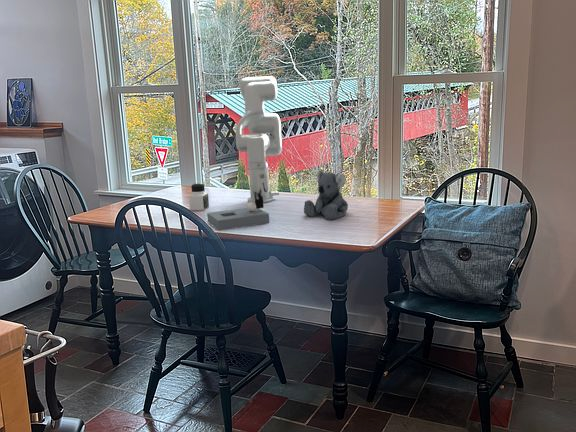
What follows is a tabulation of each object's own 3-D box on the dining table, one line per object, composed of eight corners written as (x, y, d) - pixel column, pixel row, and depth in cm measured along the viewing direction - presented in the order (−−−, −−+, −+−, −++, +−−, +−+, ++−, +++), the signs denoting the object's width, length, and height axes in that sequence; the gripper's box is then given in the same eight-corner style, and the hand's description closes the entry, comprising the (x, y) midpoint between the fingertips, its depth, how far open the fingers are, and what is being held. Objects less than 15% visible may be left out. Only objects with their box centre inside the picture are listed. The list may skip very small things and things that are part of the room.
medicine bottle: (204, 210, 268) (202, 185, 265) (189, 210, 270) (187, 185, 267) (209, 207, 275) (207, 182, 272) (195, 207, 277) (193, 182, 274)
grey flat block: (255, 215, 254) (255, 206, 253) (269, 222, 240) (268, 213, 239) (207, 222, 246) (207, 212, 245) (218, 230, 232) (218, 220, 231)
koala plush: (301, 216, 249) (299, 171, 245) (327, 208, 262) (325, 165, 257) (332, 221, 238) (331, 175, 233) (357, 213, 250) (357, 168, 246)
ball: (255, 208, 247) (252, 199, 246) (258, 210, 243) (256, 201, 242) (246, 211, 246) (244, 203, 244) (250, 213, 242) (247, 205, 241)
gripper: (272, 166, 236) (274, 210, 240) (258, 162, 249) (261, 203, 254) (255, 168, 233) (257, 212, 237) (242, 164, 246) (245, 206, 251)
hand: (259, 207), depth 245 cm, fingers closed
